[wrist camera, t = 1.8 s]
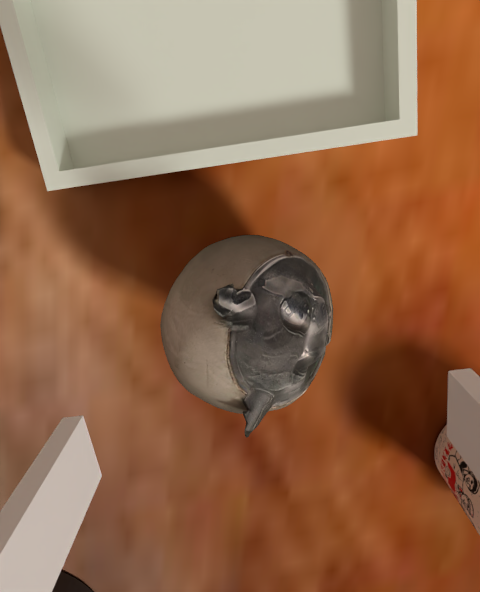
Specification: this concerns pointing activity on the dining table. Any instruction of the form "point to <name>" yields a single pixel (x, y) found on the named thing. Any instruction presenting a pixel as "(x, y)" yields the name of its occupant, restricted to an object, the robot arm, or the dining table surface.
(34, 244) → the dining table surface
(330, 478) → the dining table surface
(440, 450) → the teacup with lid
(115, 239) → the dining table surface
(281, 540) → the dining table surface
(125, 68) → the serving tray
